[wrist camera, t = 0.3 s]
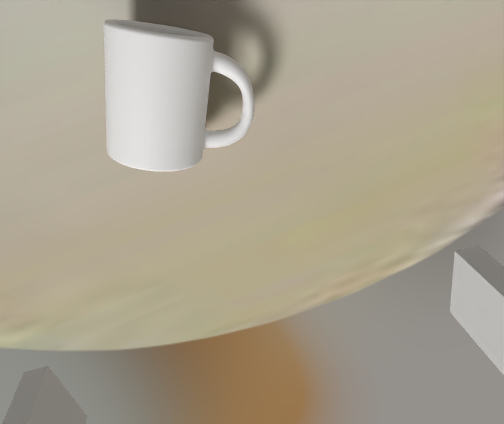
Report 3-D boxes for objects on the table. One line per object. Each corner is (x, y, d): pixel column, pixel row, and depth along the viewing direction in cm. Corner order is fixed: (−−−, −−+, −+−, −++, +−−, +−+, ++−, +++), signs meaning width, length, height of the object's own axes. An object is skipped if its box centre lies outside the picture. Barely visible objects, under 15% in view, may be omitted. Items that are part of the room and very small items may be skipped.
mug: (114, 134, 36) (98, 168, 29) (112, 16, 31) (93, 23, 24) (240, 146, 38) (253, 180, 32) (255, 39, 34) (275, 51, 27)
